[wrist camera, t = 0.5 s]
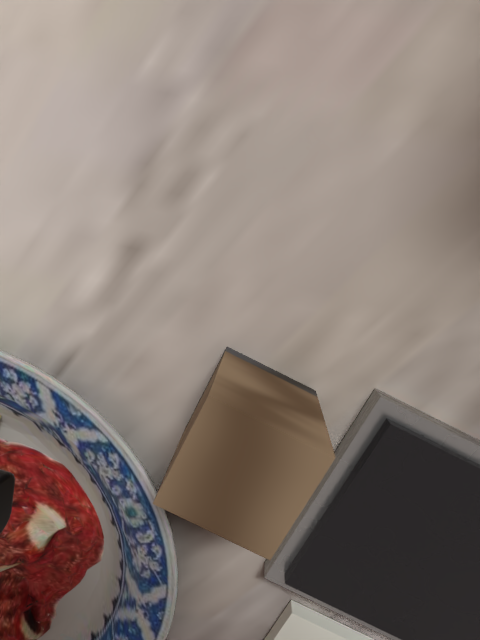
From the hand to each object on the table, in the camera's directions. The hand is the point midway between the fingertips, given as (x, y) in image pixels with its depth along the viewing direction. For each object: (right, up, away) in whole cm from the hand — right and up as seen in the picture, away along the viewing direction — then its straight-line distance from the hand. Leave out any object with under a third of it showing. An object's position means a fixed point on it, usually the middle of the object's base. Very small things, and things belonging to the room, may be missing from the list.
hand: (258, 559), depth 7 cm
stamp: (0, 0, +13) cm, 13 cm away
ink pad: (+9, -7, +14) cm, 18 cm away
